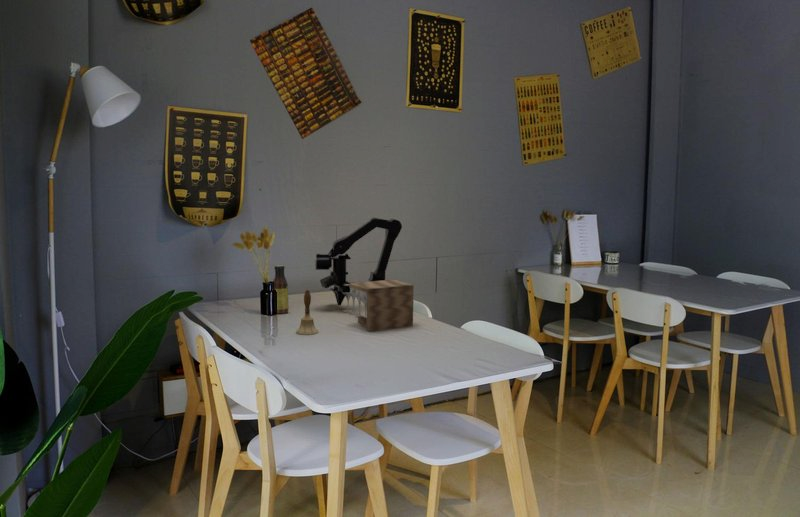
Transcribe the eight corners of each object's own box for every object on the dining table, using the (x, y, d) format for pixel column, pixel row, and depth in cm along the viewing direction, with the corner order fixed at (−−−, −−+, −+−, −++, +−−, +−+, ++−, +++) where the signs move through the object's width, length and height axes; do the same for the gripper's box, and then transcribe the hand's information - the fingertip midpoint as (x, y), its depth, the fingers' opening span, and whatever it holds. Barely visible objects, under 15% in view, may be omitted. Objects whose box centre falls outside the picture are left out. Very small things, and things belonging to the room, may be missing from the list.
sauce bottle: (291, 312, 281) (291, 265, 279) (279, 314, 277) (279, 267, 274) (282, 310, 286) (281, 264, 283) (269, 312, 281) (269, 265, 278)
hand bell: (322, 331, 251) (322, 289, 248) (310, 336, 243) (310, 292, 241) (303, 328, 254) (303, 287, 252) (291, 333, 247) (291, 290, 244)
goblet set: (381, 322, 265) (381, 289, 263) (368, 324, 262) (368, 291, 261) (351, 309, 289) (351, 279, 288) (339, 310, 287) (339, 280, 285)
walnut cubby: (392, 318, 274) (392, 279, 272) (412, 325, 261) (413, 285, 259) (349, 323, 263) (349, 283, 261) (368, 331, 250) (369, 289, 248)
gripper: (313, 267, 292) (313, 303, 294) (332, 274, 276) (332, 311, 278) (336, 266, 298) (335, 300, 300) (356, 272, 282) (355, 308, 284)
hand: (339, 305), depth 290 cm, fingers closed, pressing on goblet set
